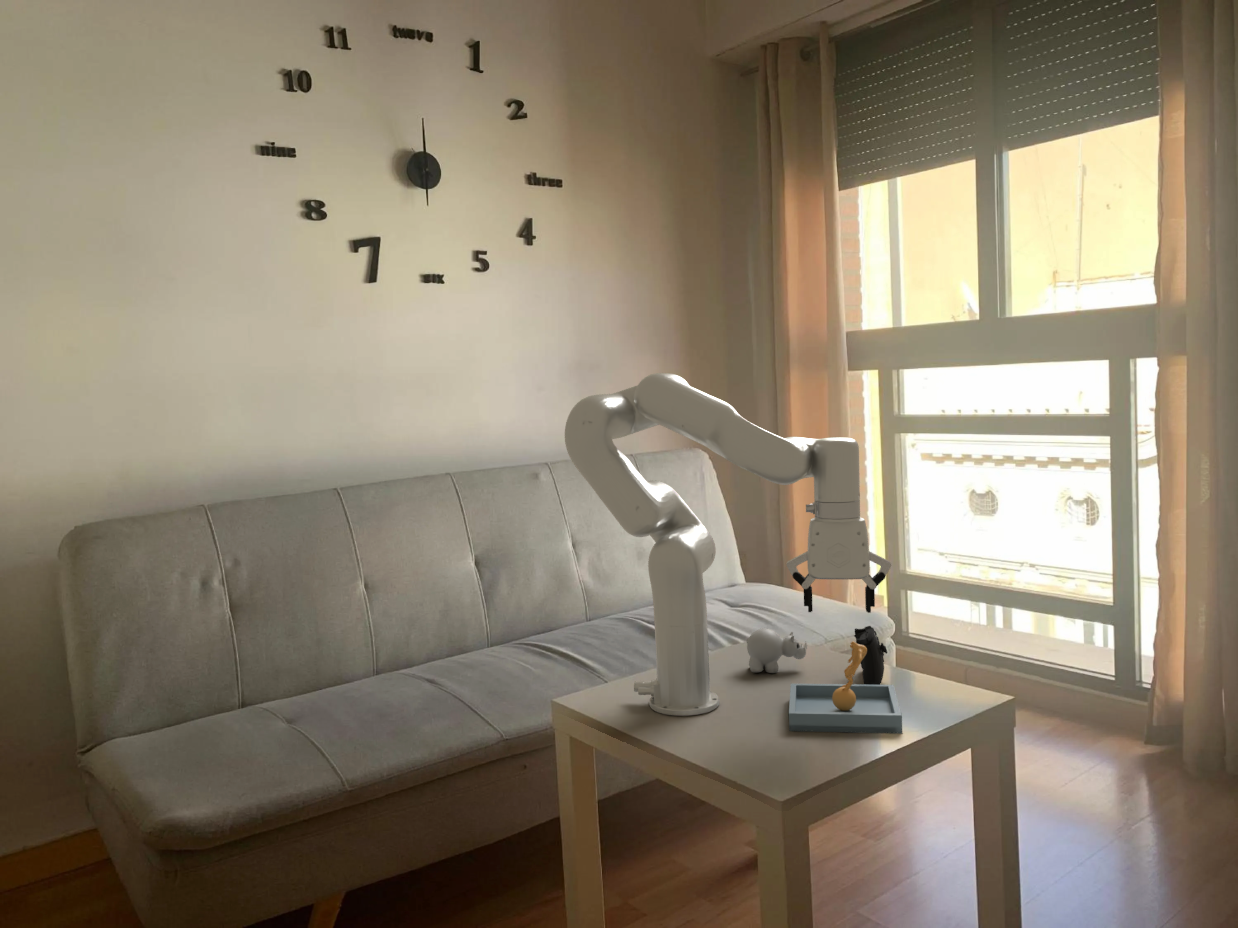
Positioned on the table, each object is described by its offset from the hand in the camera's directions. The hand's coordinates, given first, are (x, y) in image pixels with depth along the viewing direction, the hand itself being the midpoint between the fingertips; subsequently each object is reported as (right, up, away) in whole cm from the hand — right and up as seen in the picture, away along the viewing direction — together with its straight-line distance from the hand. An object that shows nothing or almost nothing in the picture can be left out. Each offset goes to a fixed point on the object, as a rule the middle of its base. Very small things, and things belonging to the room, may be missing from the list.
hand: (839, 610), depth 165 cm
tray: (+1, -18, +1) cm, 18 cm away
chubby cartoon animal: (-6, -17, +29) cm, 34 cm away
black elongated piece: (+11, -17, +20) cm, 28 cm away
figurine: (+2, -17, +1) cm, 18 cm away
